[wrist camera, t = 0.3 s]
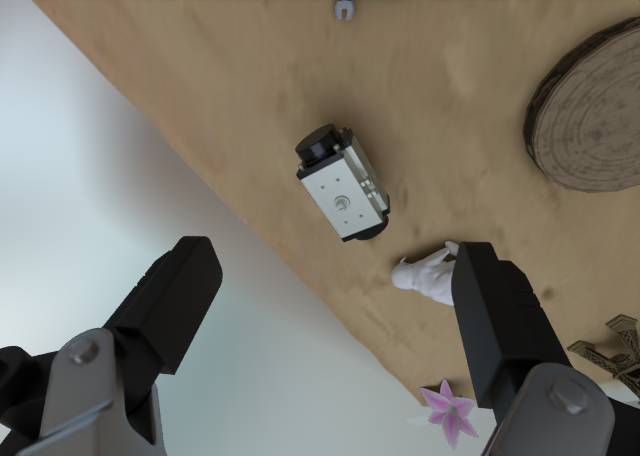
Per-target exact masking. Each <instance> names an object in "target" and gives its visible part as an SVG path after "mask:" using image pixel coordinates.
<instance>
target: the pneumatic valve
mask: <svg viewBox="0 0 640 456" xmlns="http://www.w3.org/2000/svg"><path fill="white" fill-rule="evenodd" d="M295 151H296V153H297V154H298V156H299V157H300V159H301V160H302V162H301V164H299V165H298V168H299V169H298V172H297V174H296V176H297V177H298V178H299V180H300V181H301V183H302V184H303V185H304V187H305V188H306V190H307V191H308V192H309V194H310V195H311V197H312V198H313V199H314V201H315V202H316V204H317V205H318V206H319V208H320V209H321V211H322V212H323V214H324V215H325V216H326V218H327V219H328V221H329V222H330V223H331V225H332V226H333V228H334V229H335V230H336V232H337V233H338V235H339V236H340V237H341V239H342V240H343V242H346V241H349V240H352V239H354V238H355V239H357V240H368V239H371V238H373V237H375V236H377V235H378V234H380V233H381V232H382V231H383V230H384V229H385V228H386V226H387V224H388V221H389V219H388V216H387V214H389V213H390V200H389V196H388V194H387V192H386V190H385V189H384V187H383V185H382V183H381V182H380V180H379V178H378V176H377V174H376V173H375V171H374V169H373V167H372V166H371V164H370V162H369V160H368V158H367V156H366V155H365V153H364V151H363V149H362V148H361V146H360V144H359V142H358V140H357V139H356V137H355V135H354V134H353V132H352V130H351V128H349V129H346V127H345V128H343V129H339V130H338V131H337V129H336V127H335V125H334V124H327V125H325V126H322V127H320V128H319V129H317V130H315V131H314V132H312V133H311V134H309V135H308V136H307V137H305V138H304V139H303V140H302V141H301V142H300V143H299V144H298V145H297V147H296V148H295Z"/></svg>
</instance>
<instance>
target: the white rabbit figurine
mask: <svg viewBox="0 0 640 456" xmlns="http://www.w3.org/2000/svg"><path fill="white" fill-rule="evenodd" d="M445 246H446V248H444V249H441V250H439V251H437V252H435V253H433V254H431V255H429V256H428V257H426V258H425V259H423V260H419V261H418V262H416V263H413V264H409V263H405V262H403V260H404V259H405V257H404V258H402V260H401V261H400V263H399V265H397V266H396V267H394V269H393V270H392V272H391V280H392V282H393V284H394V285H395V286H396V287H398V288H402V289H414V290H416V291H420V292H421V293H422V294H423V295H426V296H429V297H431V298H432V299H434V300H435V301H438V302H441V303H445V304H447V305H452V306H454V304H453V300H452V294H451V278H452V274H453V269H454V265H455V261H456V260H454V261H450V262H448V263H447V262H445V261H443V259H444V258H445V257H446V255H447V254H449V253H450V254H452V255H454V256H457V252H458V248H459V245H457V244H456V243H454V242H452V241H446V242H445ZM406 259H407V258H406Z"/></svg>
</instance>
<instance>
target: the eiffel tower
mask: <svg viewBox="0 0 640 456" xmlns="http://www.w3.org/2000/svg"><path fill="white" fill-rule="evenodd" d="M636 322H638V321H637V320H636V319H633V318H630V317H627V316H624V315H619V316H618V317H616V318H614V319H613V320H611V321H610V322H608V323H606V326H608V327H610V329H613V330H614V331H615V332H616V333H617V335H618V336H619V337H620V339H621V340H622V342H623V343H624V344H625V346H626V347H627V348H628V350H629V352H628V354H627V355H622V354H619V355H617V356H615V357H614V358H612V359H609V358H607V357H605V356H603V355H602V354H600V353H598V352H597V351H595V349H596V348H595V346H594V345H592V344H589V343H586V342H583V341H578V342H576V343H575V344H573V345H572V346H570V347H568V348H567V350H568V351H571V352H574V353H578V354H579V355H580V356H582V357H583V358H585V359H587V360H589V361H590V362H592V363H594V364H596V365H597V366H599V367H601V368H603V369H605V370H606V371H608V372H610V373H612V374H613V379H618V380H620V381H621V382H622V383H624V384H625V385H626V386H627V387H628V388H629V389H630V390H631V391H632V392H633V393H634V394H635V395H636V396H637V397H638V398H639V399H640V349H639V342H638V335H637V329H636V327H635V326H636ZM638 404H639V405H640V402H638Z"/></svg>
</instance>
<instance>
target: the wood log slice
mask: <svg viewBox="0 0 640 456" xmlns="http://www.w3.org/2000/svg"><path fill="white" fill-rule="evenodd" d="M523 136H524V141H525V147H526V151H527V153H528V154H529V156H530V157H531V158H532V160H533V161H534V163H535V164H536V165H537V167H538V168H539V169H540V170H541V171H542V172H543V173H544V174H545V176H546V177H547V178H548V179H550V180H552V181H553V182H555V183H557V184H559V185H560V186H562V187H564V188H566V189H570V190H575V191H581V192H586V193H598V192H612V191H619V190H623V189H626V188H630V187H633V186H637V185H640V16H639V17H633V18H629V19H627V20H624V21H622V22H620V23H618V24H615V25H613V26H611V27H609V28H607V29H604V30H602V31H600V32H598V33H595V34H594V35H592V36H591V37H590V38H588V39H587V40H586V41H584V42H583V43H581V44H580V45H579V46H577V47H576V48H575V49H573V50H572V51H571V52H569V53H568V54H566V55H565V56H564V57H563V58H562V59H561V60H560V61H559V63H558V64H557V65H556V66H555V67H554V68H553V69H552V70H551V71H550V73H549V74H548V75H547V76H546V77H545V78H544V79H543V80H542V82H541V83H540V85H539V87H538V89H537V91H536V93H535V94H534V96H533V98H532V100H531V102H530V104H529V106H528V108H527V112H526V117H525V122H524V127H523Z"/></svg>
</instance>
